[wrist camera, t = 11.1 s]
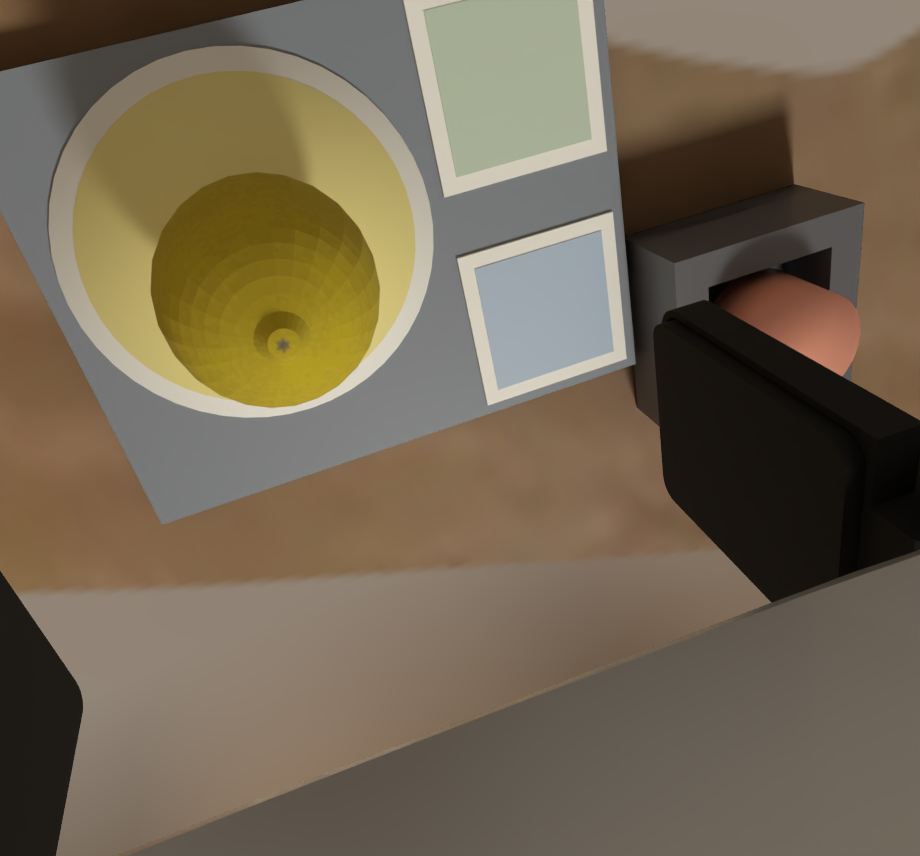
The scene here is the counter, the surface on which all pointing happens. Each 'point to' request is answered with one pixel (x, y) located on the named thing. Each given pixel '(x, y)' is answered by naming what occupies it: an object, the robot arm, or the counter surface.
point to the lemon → (265, 290)
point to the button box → (738, 260)
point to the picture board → (360, 195)
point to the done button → (796, 315)
